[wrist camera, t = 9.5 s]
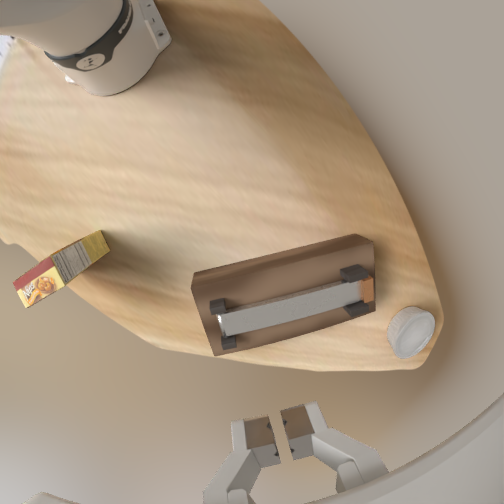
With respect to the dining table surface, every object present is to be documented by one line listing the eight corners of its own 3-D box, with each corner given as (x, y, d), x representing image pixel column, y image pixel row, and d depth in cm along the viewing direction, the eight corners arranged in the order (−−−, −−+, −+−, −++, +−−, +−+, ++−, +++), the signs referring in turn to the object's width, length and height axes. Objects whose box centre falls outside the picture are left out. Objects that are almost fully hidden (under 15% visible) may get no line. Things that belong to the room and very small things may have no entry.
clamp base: (194, 272, 42) (188, 298, 33) (354, 233, 43) (384, 247, 35) (214, 335, 45) (214, 369, 37) (359, 296, 47) (385, 319, 38)
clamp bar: (215, 309, 37) (214, 317, 35) (366, 271, 38) (373, 276, 36) (222, 334, 38) (223, 342, 36) (367, 295, 39) (373, 301, 37)
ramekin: (396, 353, 53) (407, 366, 48) (373, 333, 50) (385, 346, 45) (428, 317, 52) (441, 327, 47) (409, 292, 49) (424, 302, 44)
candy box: (74, 271, 39) (26, 311, 25) (63, 250, 38) (11, 282, 23) (111, 250, 39) (66, 287, 25) (100, 227, 38) (48, 254, 23)
